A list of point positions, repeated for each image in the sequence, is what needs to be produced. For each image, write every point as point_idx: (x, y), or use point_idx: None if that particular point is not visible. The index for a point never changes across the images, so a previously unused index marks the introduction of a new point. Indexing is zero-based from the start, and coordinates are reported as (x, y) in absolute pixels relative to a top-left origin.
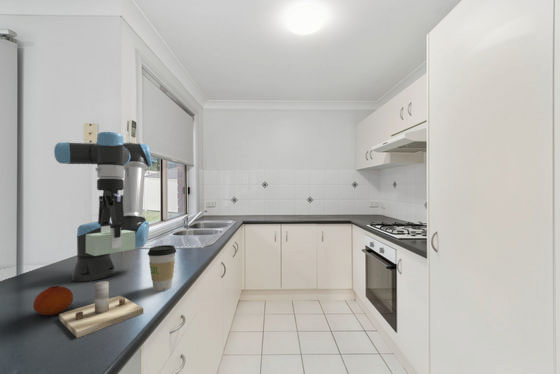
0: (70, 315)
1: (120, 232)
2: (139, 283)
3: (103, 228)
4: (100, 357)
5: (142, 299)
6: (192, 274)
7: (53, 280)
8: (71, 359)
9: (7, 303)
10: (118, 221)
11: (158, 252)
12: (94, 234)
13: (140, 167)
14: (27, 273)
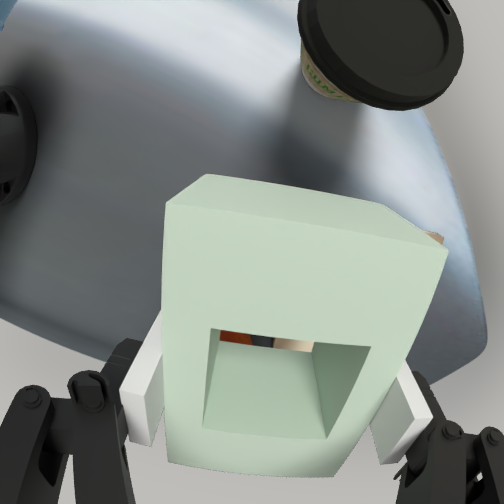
0: (309, 341)
1: (414, 386)
2: (199, 77)
3: (156, 423)
4: (468, 347)
5: (363, 171)
6: None
7: None
8: (435, 369)
9: (65, 344)
10: (482, 480)
11: (437, 92)
12: (237, 458)
13: None
14: None
